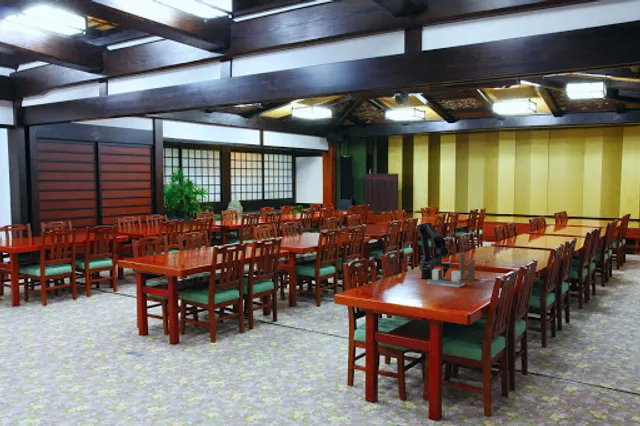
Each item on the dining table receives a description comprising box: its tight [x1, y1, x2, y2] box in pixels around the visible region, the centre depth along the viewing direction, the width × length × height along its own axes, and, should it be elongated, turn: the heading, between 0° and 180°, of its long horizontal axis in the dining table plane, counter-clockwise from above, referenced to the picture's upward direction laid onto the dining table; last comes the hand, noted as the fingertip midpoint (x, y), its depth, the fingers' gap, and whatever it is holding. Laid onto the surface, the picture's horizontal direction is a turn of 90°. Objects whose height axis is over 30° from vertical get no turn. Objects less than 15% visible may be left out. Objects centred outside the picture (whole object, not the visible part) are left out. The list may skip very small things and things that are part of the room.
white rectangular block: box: [432, 268, 443, 280], centre depth 354 cm, size 6×4×8 cm
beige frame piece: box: [458, 252, 476, 281], centre depth 369 cm, size 4×11×18 cm, turn 53°
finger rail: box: [426, 270, 465, 288], centre depth 351 cm, size 22×10×10 cm, turn 55°
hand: (437, 277), depth 354 cm, fingers open, 9 cm apart
